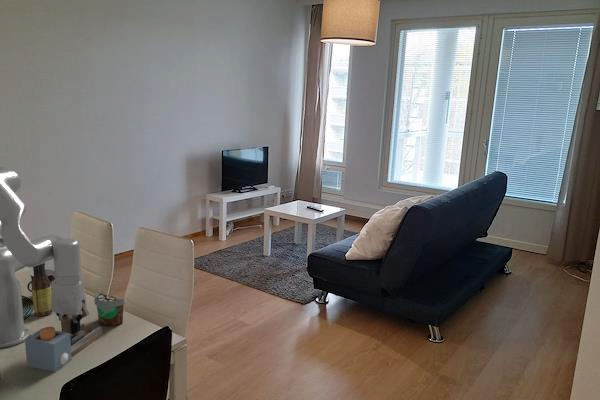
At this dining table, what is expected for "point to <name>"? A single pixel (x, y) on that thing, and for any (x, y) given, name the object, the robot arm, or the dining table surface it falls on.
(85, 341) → the rail
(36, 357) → the blue-grey box
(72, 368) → the dining table surface
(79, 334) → the carriage
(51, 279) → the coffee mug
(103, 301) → the food container
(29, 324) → the dining table surface
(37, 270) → the sauce bottle
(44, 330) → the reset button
